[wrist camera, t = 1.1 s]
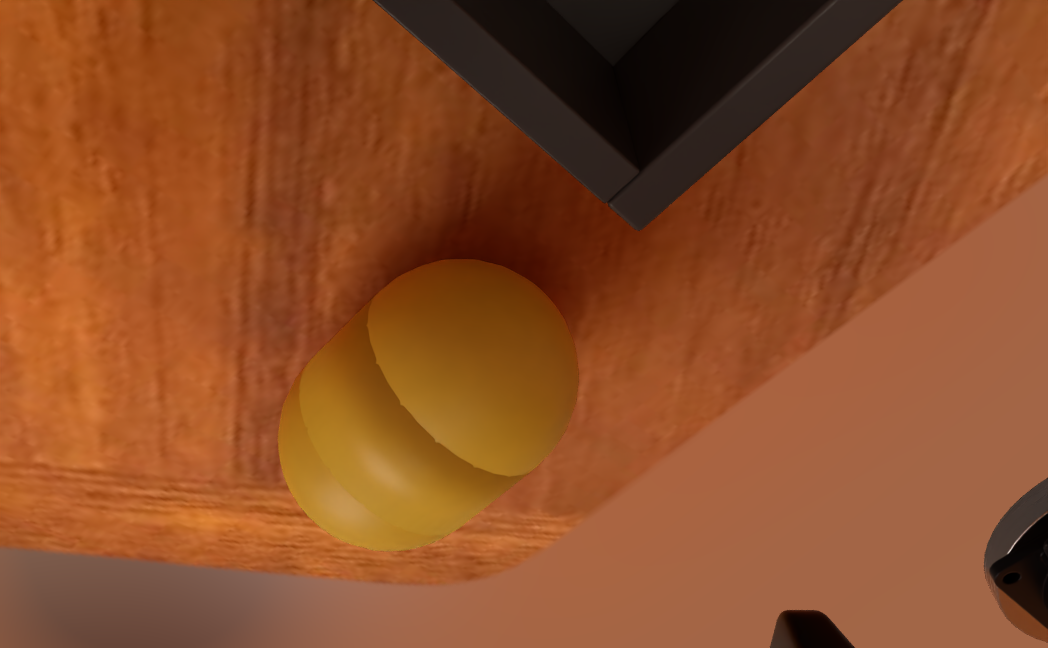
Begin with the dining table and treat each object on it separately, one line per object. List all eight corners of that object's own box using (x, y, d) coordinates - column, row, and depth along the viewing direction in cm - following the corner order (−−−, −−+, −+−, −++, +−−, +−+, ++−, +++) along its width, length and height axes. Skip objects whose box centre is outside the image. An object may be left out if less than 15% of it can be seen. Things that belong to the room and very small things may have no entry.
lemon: (455, 173, 21) (441, 300, 17) (616, 305, 23) (640, 449, 19) (260, 373, 24) (206, 523, 20) (417, 474, 26) (399, 631, 22)
